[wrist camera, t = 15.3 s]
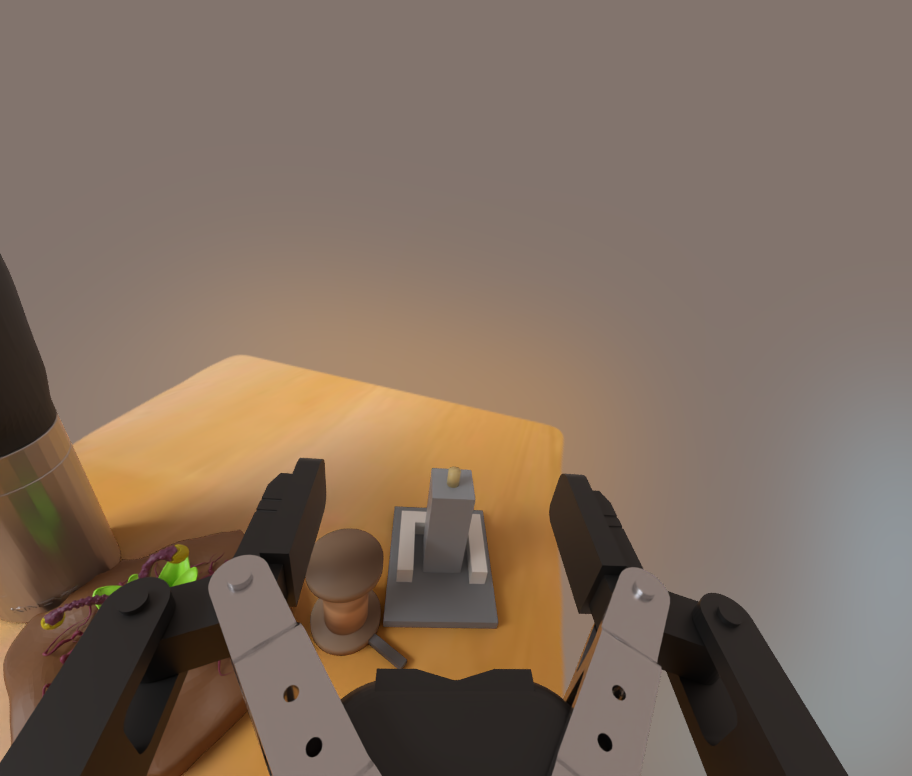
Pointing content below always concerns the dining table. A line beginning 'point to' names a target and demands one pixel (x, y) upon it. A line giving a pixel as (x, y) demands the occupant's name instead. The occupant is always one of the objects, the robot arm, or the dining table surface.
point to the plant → (58, 631)
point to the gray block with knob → (447, 519)
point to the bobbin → (347, 594)
